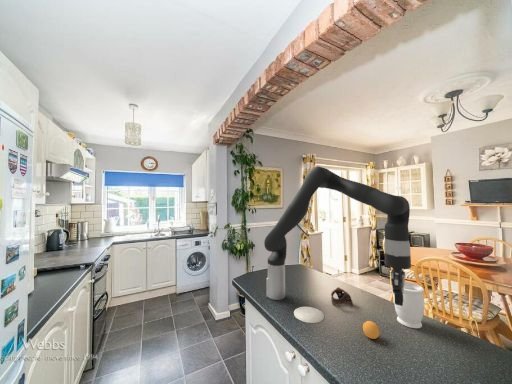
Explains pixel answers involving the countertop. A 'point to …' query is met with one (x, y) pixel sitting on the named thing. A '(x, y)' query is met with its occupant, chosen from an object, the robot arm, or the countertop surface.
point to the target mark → (308, 314)
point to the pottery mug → (340, 297)
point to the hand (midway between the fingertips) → (399, 303)
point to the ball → (371, 329)
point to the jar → (411, 306)
